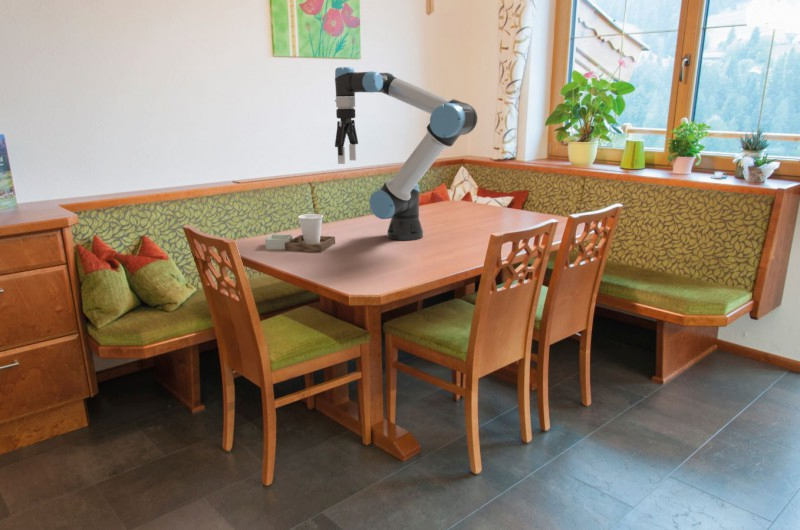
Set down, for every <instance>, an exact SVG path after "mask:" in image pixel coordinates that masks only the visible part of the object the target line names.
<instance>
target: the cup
mask: <svg viewBox="0 0 800 530" xmlns="http://www.w3.org/2000/svg"><path fill="white" fill-rule="evenodd" d="M323 217H324V215H323V214H320V213H319V214H318V213H308V214H307V213H306V214H300V215H298V216H297V218H298V220H299V226H300V230H301V235H303V239H304V243H305V244H318V243H319V242H320V236H322V235H321V234H322V225H323Z"/></svg>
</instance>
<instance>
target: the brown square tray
mask: <svg viewBox="0 0 800 530" xmlns="http://www.w3.org/2000/svg"><path fill="white" fill-rule="evenodd" d="M335 244H336V236H332V235H331V236H330V235H320V242H319V243H318V244H305V243H304V239H303V235H302V234H299V235H298V236H295V237H294V238H293V239H292V240H290V241H289V242H286V243H285V249H284V251H296V252H308V253H309V252H311V253H322V252H324V251H325V250H327V249H328V248H330V247H332V246H334V245H335Z"/></svg>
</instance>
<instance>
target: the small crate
mask: <svg viewBox="0 0 800 530" xmlns="http://www.w3.org/2000/svg"><path fill="white" fill-rule="evenodd" d="M293 237H294V236H293V234H291V233H290V234H289V233H287V234H284V233H282V234H279V233H278V234H275V233H274V234H272V233H271V234H269V235H268V236H267V237H266V238H265V239H264V240H265V241H264V242H265V249H266V250H267V251H268V250H285V243H286V242H289V241H290V240H292V239H294V238H293Z"/></svg>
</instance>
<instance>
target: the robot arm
mask: <svg viewBox="0 0 800 530" xmlns="http://www.w3.org/2000/svg"><path fill="white" fill-rule="evenodd" d="M334 84H335V85H334V86H335V100H334V102H335V106H336V110H335V111H336V116H335V117H336V119H340V121H339V120H337V125H336V126H337V128H336V134H335V141H334V147H335V148H337V164H338V165H345V164H346V156H345V155H346V151H345V150H346V148H345V146H344V145H345V143H346V142H345V141H346V138H348V142H349V144H348V147H349V148H348V149H349V150H348V151H349V155H348V156H349V161H357V145H358V144H359V141H358V136H357V135H358V134H357V129H356V126H355V125H356V123H355V118H356V109H355V108H356V97H355V95H356V93H370V94H371V93H382V94H385V95H387V96H389V97H392V98H393V99H396V100H398V101H399V102H400V101H401V102H403V103H405V104H407V105H410V106H412V107H414V108H417V109H419V110H421V111H423V112H426V113H428V114H430V117H429V123H428V124H427V126H426V131H427V132H426V134H425V136H424V137H423V138H422V140H421V141H420V142H419V143H418V144H417V146H416V147H415V148H414V150H413V151H412V152H411V154H410V155H409V157H408V158H407V159H406V161H405V162H404V164H403V165H402V166H401V167H400V169H399V170H398V171H397V172H396V174H395V175H394V177H393V178H388V179H387V180H385V182H384V184H382V186H381V188H379V189H377V190H375V191H373V192H372V193H371V195H370V197H369V200H368V203H369V209H370V211H371V213H372V214H373V215H374V216H375V217H376V218H378V219H380V220H389V219H390V222H389V225H388V228H387V235H386V236H387V238H389V239H392V240H395V241H397V240H398V241H412V240H418V239H421V238H423V237H424V229H423V227H422V224H421V221H420V220H421V219H420V186H419V184H418V183H419V182H420V181H421V180H422V178H423V176H424V175H425V174H426V173H427V171H428V170H429V169H430V168H431V166H432V165H433V164H434V163H435V161H436V160H437V159H438V158H439V156H440V155H441V154H442V152H443V151H444V150H445V148H451V147H452V146H453V145H454V144H455V143H456V141H457V140H458V138H459V137H460V136H463V135H467V134H469V133H471V132H472V131H474V129H475V127H476V126H477V123H478V113H477V111H476V109H475V108H474V107H473V106H472V105H471V104H469V103H467V102H463V101H460V100H458V99H455V98H451V99H447V98H445V97H443V96H441V95H439V94H436V93H433V92H431V91H429V90H427V89H424V88H421V87H419V86H417V85H415V84H412V83H410V82H407V81H406V80H402V79H401V78H398V77H396V76H395V75H394V74H393V73H389V72H378V71H364V72H363V71H362V72H358V71H357V72H355V69H354V67H351V66H350V67H349V66H338V67H336V68H335V71H334Z"/></svg>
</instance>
